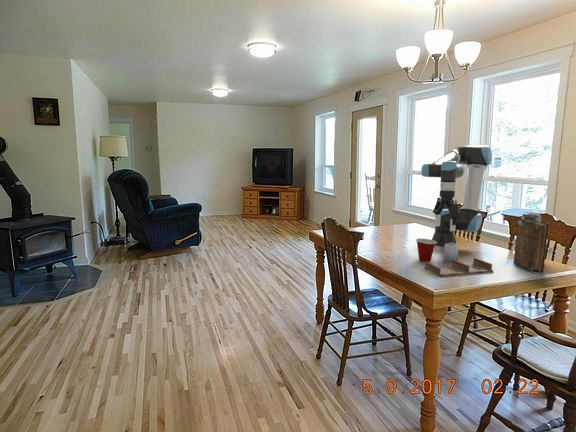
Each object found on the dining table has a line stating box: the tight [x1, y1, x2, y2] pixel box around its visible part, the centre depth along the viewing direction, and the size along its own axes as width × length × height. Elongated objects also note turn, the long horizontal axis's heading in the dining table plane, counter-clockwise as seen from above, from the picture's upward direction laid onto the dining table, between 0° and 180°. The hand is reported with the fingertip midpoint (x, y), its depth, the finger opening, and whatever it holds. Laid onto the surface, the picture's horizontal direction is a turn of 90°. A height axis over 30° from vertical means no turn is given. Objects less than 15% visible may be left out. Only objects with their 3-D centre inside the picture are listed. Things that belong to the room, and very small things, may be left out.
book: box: [513, 218, 550, 273], centre depth 191 cm, size 17×7×25 cm, turn 177°
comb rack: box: [424, 257, 494, 278], centre depth 189 cm, size 30×13×4 cm, turn 103°
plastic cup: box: [415, 238, 437, 264], centre depth 204 cm, size 11×11×12 cm
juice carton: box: [520, 210, 542, 222], centre depth 208 cm, size 9×10×27 cm
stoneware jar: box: [443, 243, 460, 263], centre depth 206 cm, size 7×7×10 cm
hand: (444, 228), depth 205 cm, fingers open, 13 cm apart
